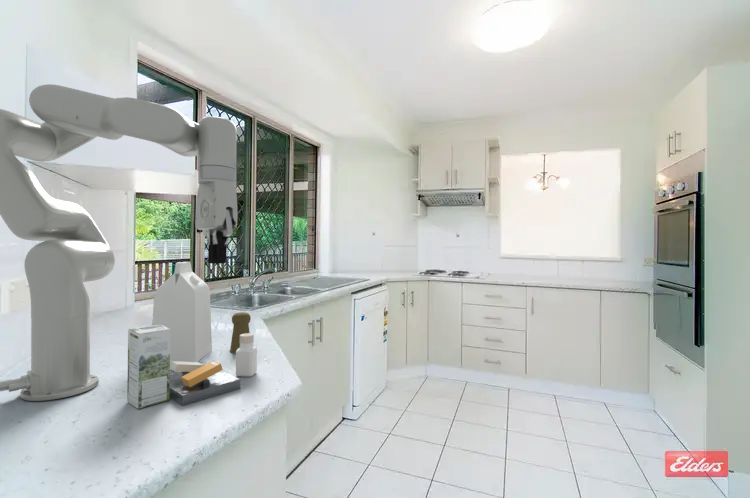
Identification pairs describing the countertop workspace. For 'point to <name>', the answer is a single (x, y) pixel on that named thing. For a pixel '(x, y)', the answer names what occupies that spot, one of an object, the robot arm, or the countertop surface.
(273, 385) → the countertop surface
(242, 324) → the pepper shaker
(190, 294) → the milk
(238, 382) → the breaker panel
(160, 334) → the syrup box
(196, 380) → the rocker orange
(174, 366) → the rocker white
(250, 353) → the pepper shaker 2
